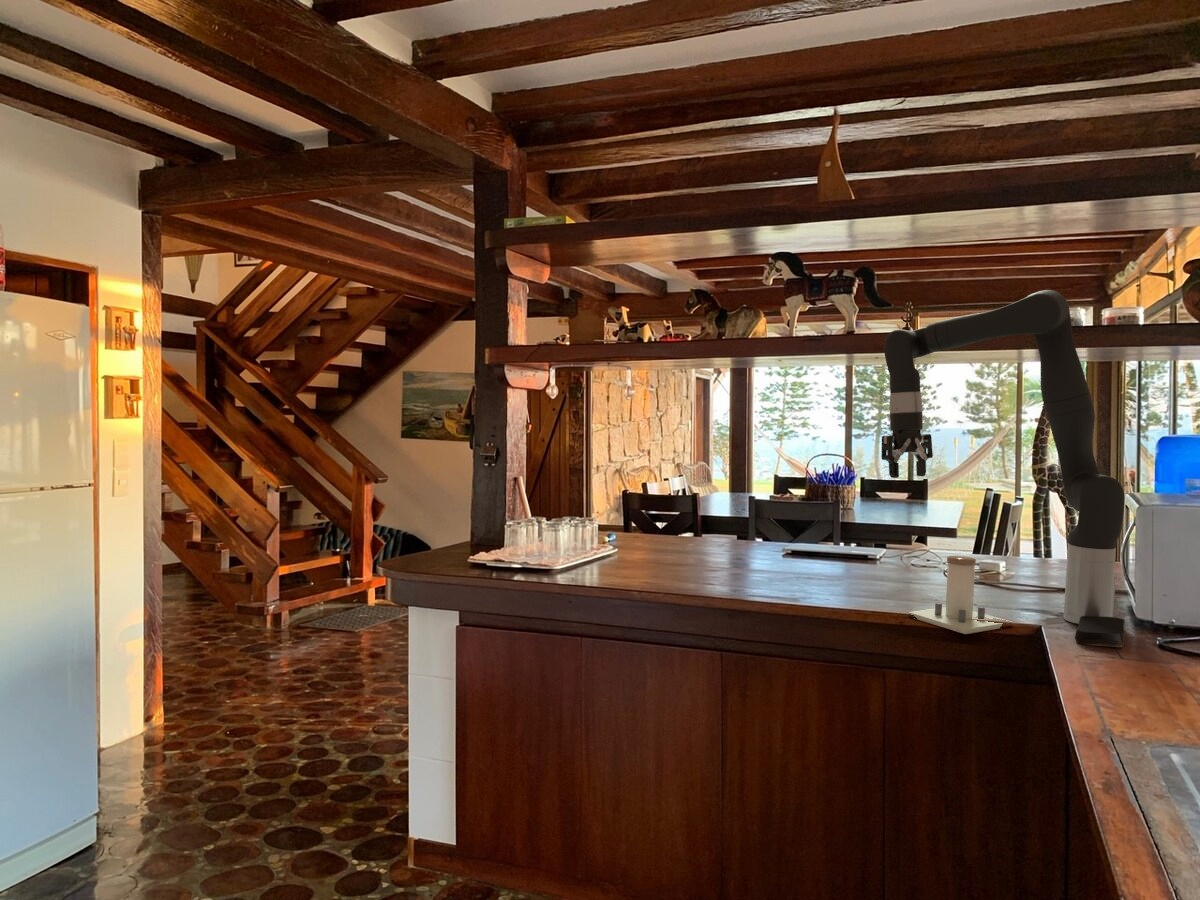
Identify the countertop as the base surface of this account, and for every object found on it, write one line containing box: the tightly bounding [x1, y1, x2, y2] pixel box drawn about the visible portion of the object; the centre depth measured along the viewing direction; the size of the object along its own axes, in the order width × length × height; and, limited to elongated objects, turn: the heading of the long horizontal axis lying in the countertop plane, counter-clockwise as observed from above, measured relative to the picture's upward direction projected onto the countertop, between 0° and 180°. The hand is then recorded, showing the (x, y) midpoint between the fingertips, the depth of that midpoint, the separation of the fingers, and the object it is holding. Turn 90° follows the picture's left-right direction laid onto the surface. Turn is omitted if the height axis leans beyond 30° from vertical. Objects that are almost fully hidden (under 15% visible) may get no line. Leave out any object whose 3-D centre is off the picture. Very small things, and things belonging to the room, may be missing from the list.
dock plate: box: [907, 602, 1012, 635], centre depth 183 cm, size 15×15×4 cm
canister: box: [945, 555, 977, 620], centre depth 183 cm, size 6×6×13 cm
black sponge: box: [1074, 616, 1126, 648], centre depth 172 cm, size 16×8×4 cm, turn 147°
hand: (908, 476), depth 203 cm, fingers open, 8 cm apart
